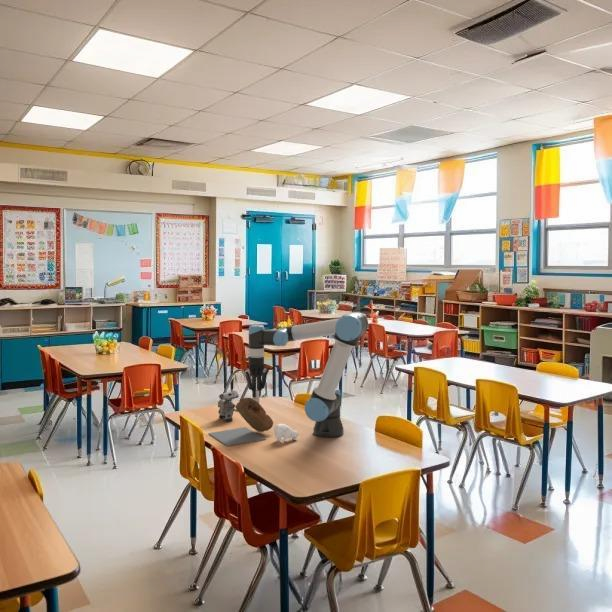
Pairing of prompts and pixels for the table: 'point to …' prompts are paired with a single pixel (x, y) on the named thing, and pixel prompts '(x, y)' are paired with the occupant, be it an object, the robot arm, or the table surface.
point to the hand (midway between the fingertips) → (256, 403)
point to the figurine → (227, 405)
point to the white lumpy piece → (284, 432)
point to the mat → (236, 436)
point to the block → (254, 414)
